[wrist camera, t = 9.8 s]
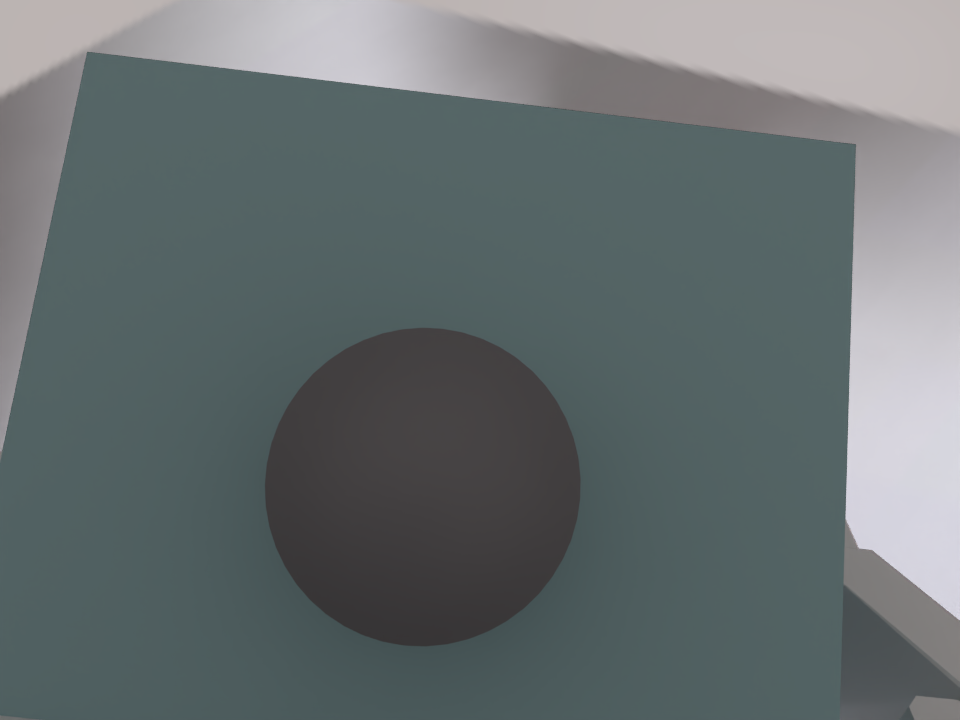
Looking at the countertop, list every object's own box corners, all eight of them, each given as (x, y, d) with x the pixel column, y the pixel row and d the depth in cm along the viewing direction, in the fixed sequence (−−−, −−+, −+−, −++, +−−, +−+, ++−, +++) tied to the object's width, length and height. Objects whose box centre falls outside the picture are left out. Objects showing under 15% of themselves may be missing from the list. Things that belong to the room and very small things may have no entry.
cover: (268, 639, 15) (-271, 1038, 4) (313, 338, 16) (-5, -66, 5) (574, 672, 15) (953, 1156, 4) (600, 371, 16) (958, 55, 5)
